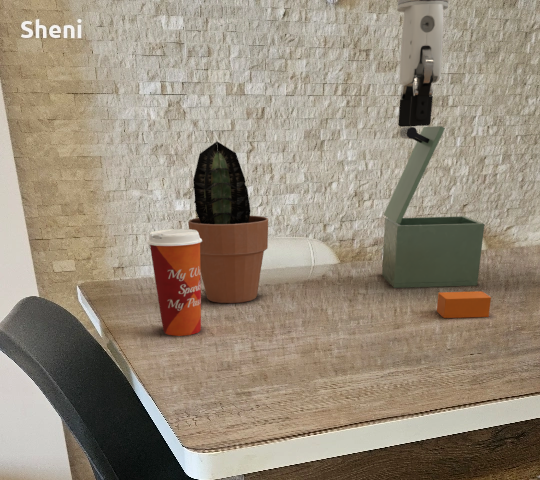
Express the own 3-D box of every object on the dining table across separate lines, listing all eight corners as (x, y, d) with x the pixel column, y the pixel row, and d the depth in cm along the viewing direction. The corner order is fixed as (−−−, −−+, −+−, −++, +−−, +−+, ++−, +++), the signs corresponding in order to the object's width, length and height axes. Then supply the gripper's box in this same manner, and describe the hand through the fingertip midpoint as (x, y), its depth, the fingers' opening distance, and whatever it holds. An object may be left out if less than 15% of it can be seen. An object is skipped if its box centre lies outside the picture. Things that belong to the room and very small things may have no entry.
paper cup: (180, 340, 95) (171, 237, 88) (145, 332, 99) (135, 233, 93) (219, 329, 100) (213, 230, 93) (184, 321, 104) (176, 227, 98)
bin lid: (427, 128, 122) (403, 116, 121) (445, 128, 111) (418, 114, 110) (386, 216, 129) (363, 205, 128) (399, 224, 118) (374, 212, 117)
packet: (479, 310, 107) (482, 291, 105) (488, 317, 103) (491, 297, 101) (436, 311, 107) (438, 292, 105) (443, 318, 103) (445, 298, 101)
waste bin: (458, 273, 135) (464, 216, 130) (477, 285, 123) (484, 223, 118) (381, 275, 134) (384, 218, 129) (393, 287, 123) (397, 226, 118)
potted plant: (284, 300, 116) (282, 139, 105) (213, 310, 111) (203, 142, 99) (248, 287, 127) (243, 140, 115) (181, 295, 121) (169, 142, 110)
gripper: (462, -15, 92) (449, 125, 100) (435, 7, 108) (425, 126, 116) (409, -14, 93) (399, 125, 100) (389, 7, 108) (382, 127, 116)
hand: (413, 126), depth 108 cm, fingers open, 9 cm apart
